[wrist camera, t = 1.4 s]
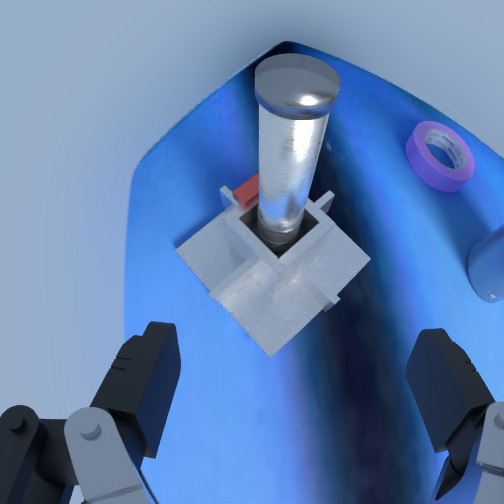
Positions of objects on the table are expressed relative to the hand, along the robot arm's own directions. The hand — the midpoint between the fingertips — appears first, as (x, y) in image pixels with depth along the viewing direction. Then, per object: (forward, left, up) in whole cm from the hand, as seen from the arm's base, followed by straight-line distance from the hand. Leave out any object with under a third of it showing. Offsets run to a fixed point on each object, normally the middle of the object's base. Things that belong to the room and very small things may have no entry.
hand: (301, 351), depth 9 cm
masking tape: (-39, -2, -25) cm, 46 cm away
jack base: (-8, -8, -24) cm, 27 cm away
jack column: (-8, -8, -22) cm, 25 cm away
